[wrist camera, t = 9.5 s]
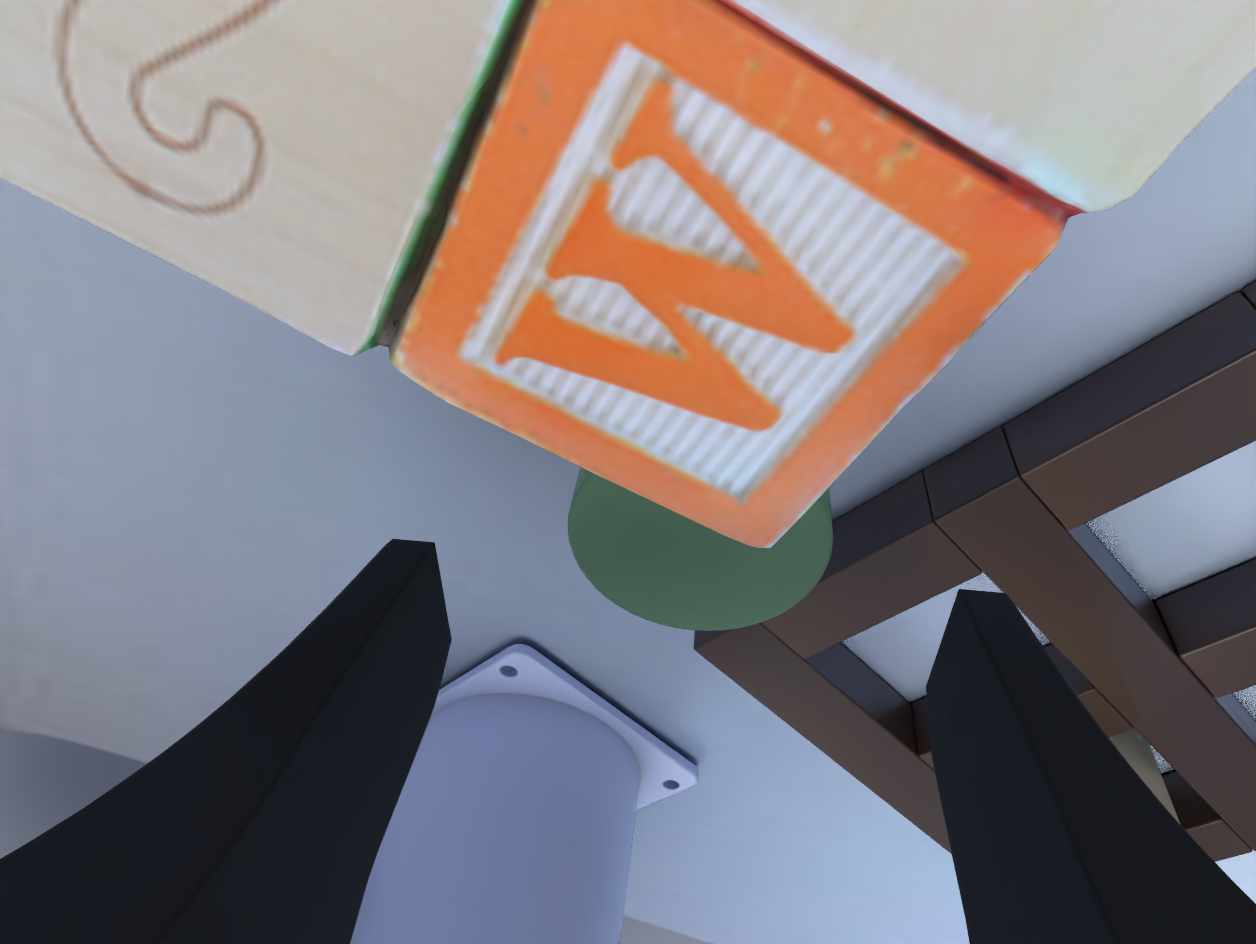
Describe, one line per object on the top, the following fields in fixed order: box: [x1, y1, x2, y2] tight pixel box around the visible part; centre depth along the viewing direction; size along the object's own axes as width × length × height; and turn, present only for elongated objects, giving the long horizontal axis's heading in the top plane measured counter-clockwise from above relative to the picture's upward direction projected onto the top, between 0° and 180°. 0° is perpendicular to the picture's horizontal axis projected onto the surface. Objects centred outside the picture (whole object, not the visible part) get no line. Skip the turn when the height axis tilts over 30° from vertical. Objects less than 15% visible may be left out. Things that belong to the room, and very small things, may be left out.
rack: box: [694, 282, 1256, 862], centre depth 23 cm, size 16×16×2 cm
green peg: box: [568, 467, 833, 631], centre depth 16 cm, size 4×4×7 cm
